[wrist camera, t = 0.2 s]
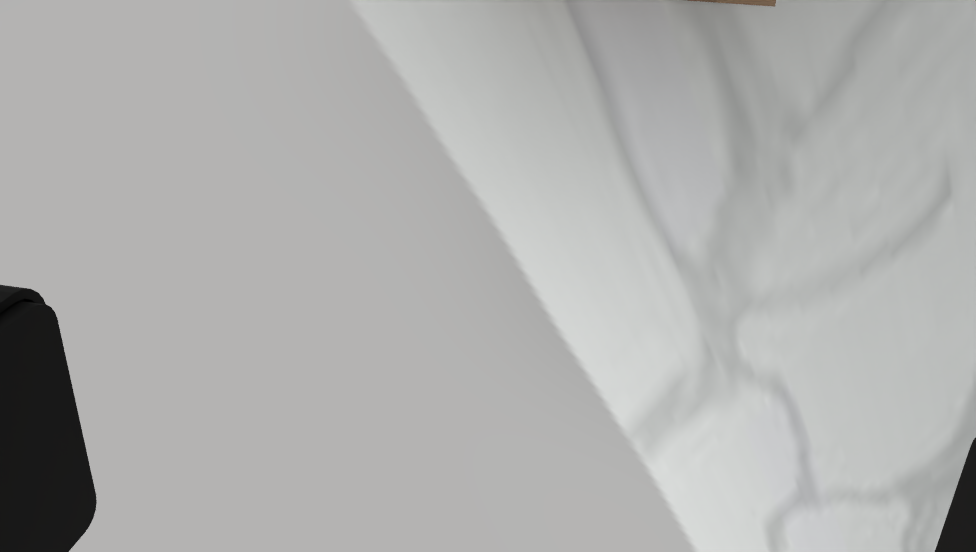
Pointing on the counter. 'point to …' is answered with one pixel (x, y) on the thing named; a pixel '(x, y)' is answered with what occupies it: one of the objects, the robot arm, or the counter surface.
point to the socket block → (744, 2)
